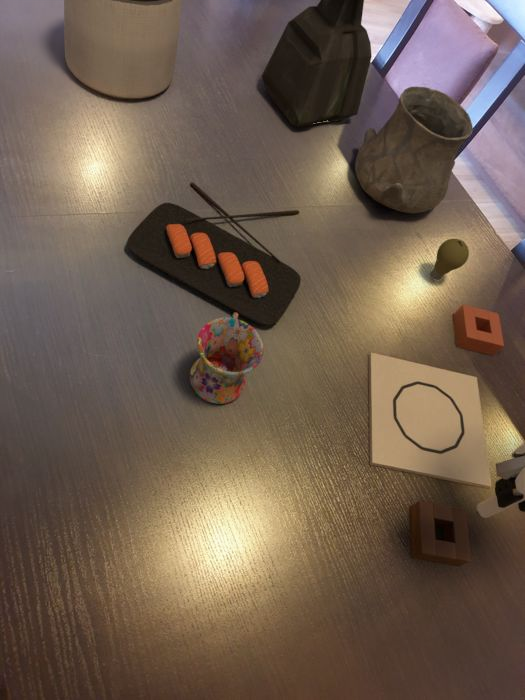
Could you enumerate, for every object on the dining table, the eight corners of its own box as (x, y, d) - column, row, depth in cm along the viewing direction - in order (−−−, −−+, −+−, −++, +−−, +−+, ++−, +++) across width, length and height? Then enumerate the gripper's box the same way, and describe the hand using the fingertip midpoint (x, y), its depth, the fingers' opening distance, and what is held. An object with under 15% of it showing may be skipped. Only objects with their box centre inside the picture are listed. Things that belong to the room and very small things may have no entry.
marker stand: (454, 514, 85) (465, 509, 82) (459, 566, 81) (471, 561, 78) (409, 506, 84) (419, 500, 81) (412, 557, 80) (422, 553, 77)
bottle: (317, 80, 137) (367, -56, 113) (354, 124, 132) (416, -9, 107) (255, 88, 129) (295, -57, 105) (292, 136, 123) (344, -6, 99)
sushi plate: (118, 253, 94) (119, 237, 91) (203, 161, 112) (207, 145, 109) (270, 337, 93) (276, 324, 90) (332, 231, 111) (340, 217, 108)
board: (473, 379, 100) (477, 376, 99) (487, 488, 89) (492, 486, 88) (368, 355, 97) (371, 351, 96) (369, 464, 86) (372, 462, 85)
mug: (241, 415, 84) (258, 381, 76) (180, 400, 83) (191, 364, 74) (252, 349, 91) (269, 311, 83) (196, 334, 90) (208, 295, 81)
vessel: (392, 145, 131) (435, 65, 115) (453, 211, 124) (509, 136, 108) (321, 162, 121) (358, 77, 105) (383, 236, 114) (433, 157, 97)
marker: (485, 505, 74) (545, 475, 64) (487, 521, 73) (549, 493, 63) (471, 503, 74) (529, 472, 64) (473, 519, 73) (532, 490, 63)
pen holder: (487, 323, 108) (498, 313, 105) (492, 355, 104) (504, 346, 101) (452, 315, 107) (462, 304, 104) (456, 347, 103) (467, 336, 100)
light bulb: (415, 273, 110) (441, 239, 102) (431, 262, 113) (457, 228, 105) (436, 293, 109) (464, 259, 101) (451, 281, 112) (480, 247, 104)
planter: (185, 63, 127) (200, -32, 111) (153, 118, 115) (164, 19, 98) (90, 26, 125) (91, -76, 109) (46, 78, 113) (40, -29, 96)
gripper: (559, 460, 50) (451, 517, 65) (712, 492, 52) (573, 539, 67) (544, 386, 54) (446, 456, 69) (687, 419, 56) (561, 479, 71)
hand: (510, 497), depth 68 cm, fingers closed on marker, 2 cm apart
